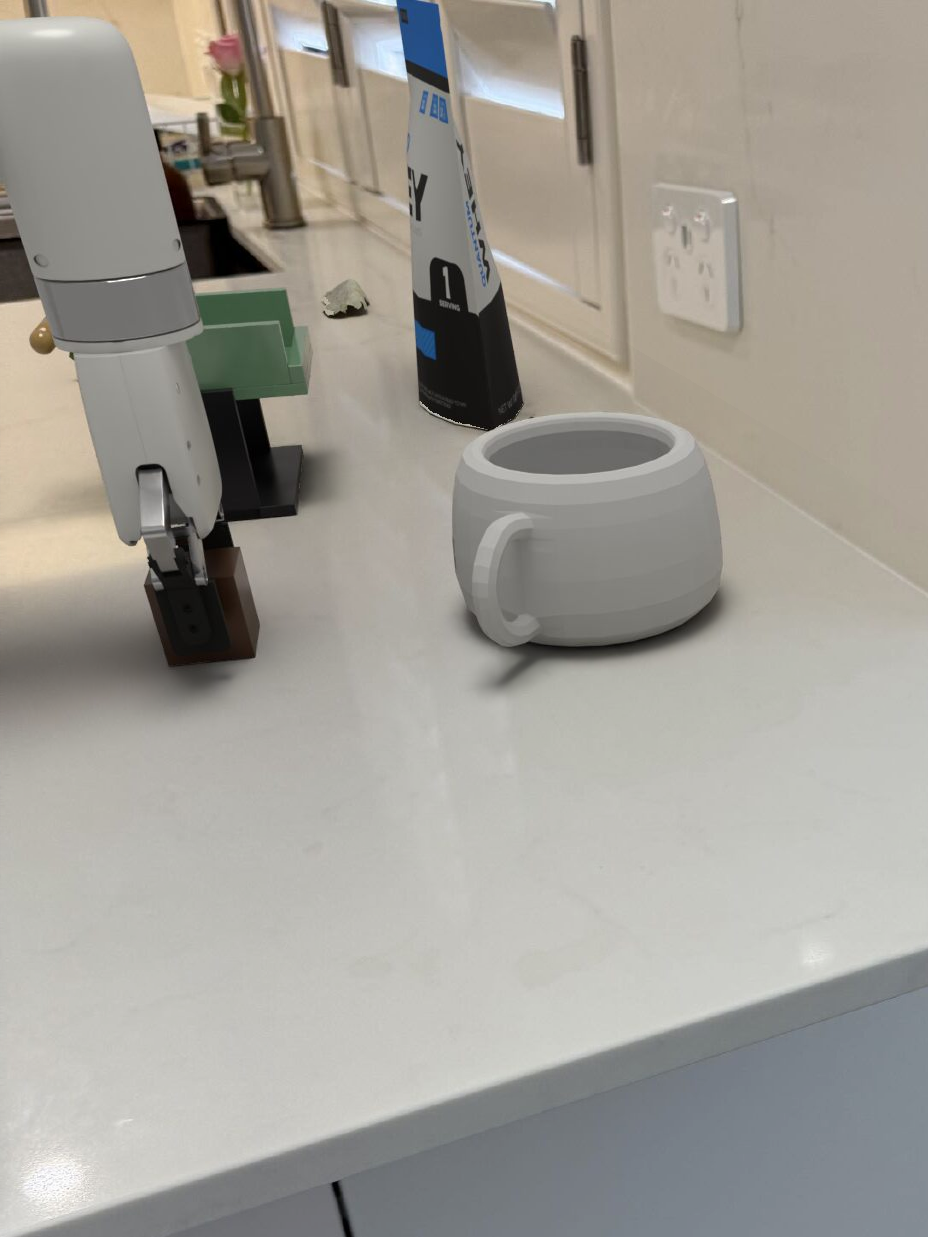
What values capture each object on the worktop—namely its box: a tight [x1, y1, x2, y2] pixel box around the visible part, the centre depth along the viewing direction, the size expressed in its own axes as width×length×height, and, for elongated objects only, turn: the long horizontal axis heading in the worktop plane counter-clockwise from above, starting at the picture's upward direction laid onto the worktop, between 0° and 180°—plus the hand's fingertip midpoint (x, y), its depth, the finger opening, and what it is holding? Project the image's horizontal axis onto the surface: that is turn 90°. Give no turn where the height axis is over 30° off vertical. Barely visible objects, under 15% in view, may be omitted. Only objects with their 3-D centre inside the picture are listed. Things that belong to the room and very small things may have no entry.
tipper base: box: [200, 388, 304, 523], centre depth 103 cm, size 8×16×9 cm, turn 13°
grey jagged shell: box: [322, 278, 370, 315], centre depth 158 cm, size 12×5×4 cm
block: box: [143, 546, 261, 667], centre depth 80 cm, size 5×5×5 cm
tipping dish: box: [28, 286, 314, 400], centre depth 99 cm, size 18×13×5 cm
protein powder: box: [395, 0, 524, 431], centre depth 116 cm, size 10×24×30 cm, turn 19°
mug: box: [451, 411, 724, 648], centre depth 81 cm, size 21×17×10 cm
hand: (211, 618), depth 81 cm, fingers open, 9 cm apart
